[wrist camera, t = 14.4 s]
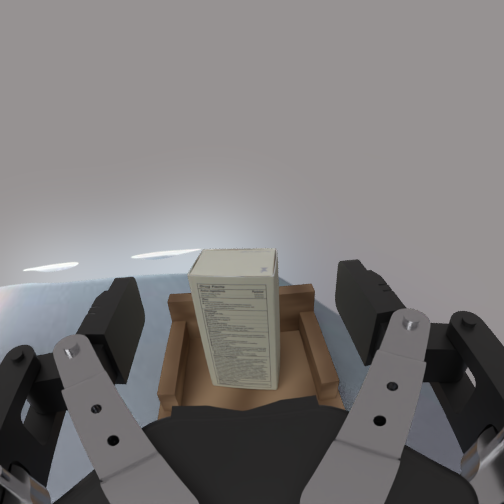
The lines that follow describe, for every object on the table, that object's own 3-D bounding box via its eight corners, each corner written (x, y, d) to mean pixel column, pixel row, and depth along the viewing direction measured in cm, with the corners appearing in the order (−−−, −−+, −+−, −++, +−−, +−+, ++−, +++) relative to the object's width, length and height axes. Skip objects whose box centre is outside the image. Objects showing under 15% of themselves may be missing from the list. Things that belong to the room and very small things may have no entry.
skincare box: (280, 358, 30) (281, 247, 24) (277, 392, 26) (277, 276, 20) (218, 355, 30) (202, 246, 25) (208, 387, 26) (185, 273, 21)
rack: (158, 439, 22) (137, 398, 19) (175, 337, 35) (165, 294, 32) (346, 425, 23) (359, 382, 20) (312, 326, 35) (316, 283, 33)
